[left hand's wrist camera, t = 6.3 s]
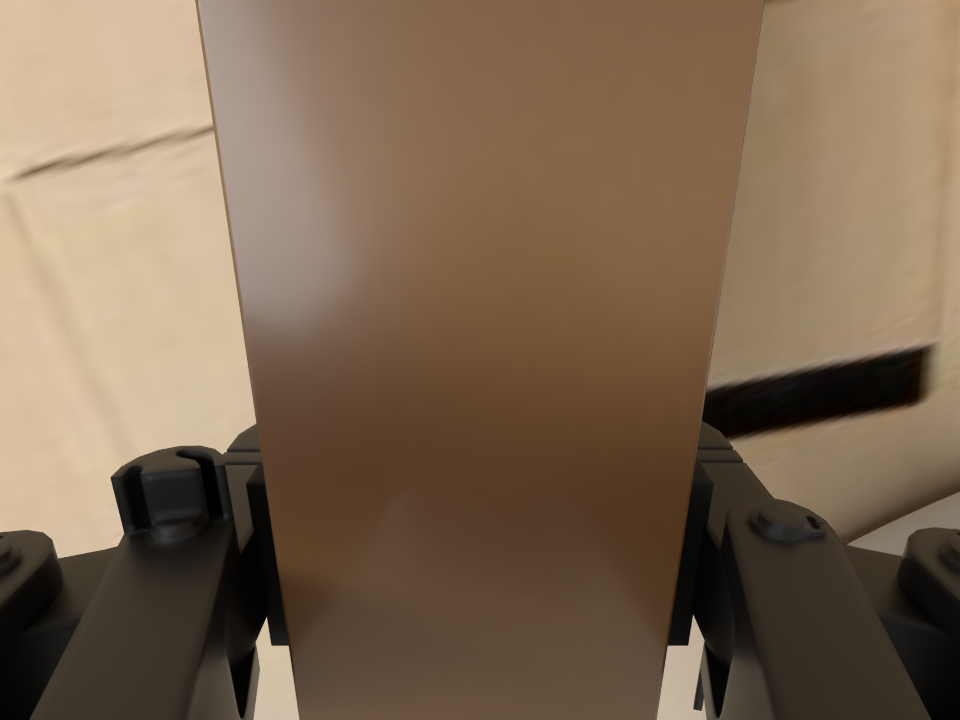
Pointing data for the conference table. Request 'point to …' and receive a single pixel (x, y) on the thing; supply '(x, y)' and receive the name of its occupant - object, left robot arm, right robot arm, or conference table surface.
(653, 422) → the bar
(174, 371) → the conference table surface
